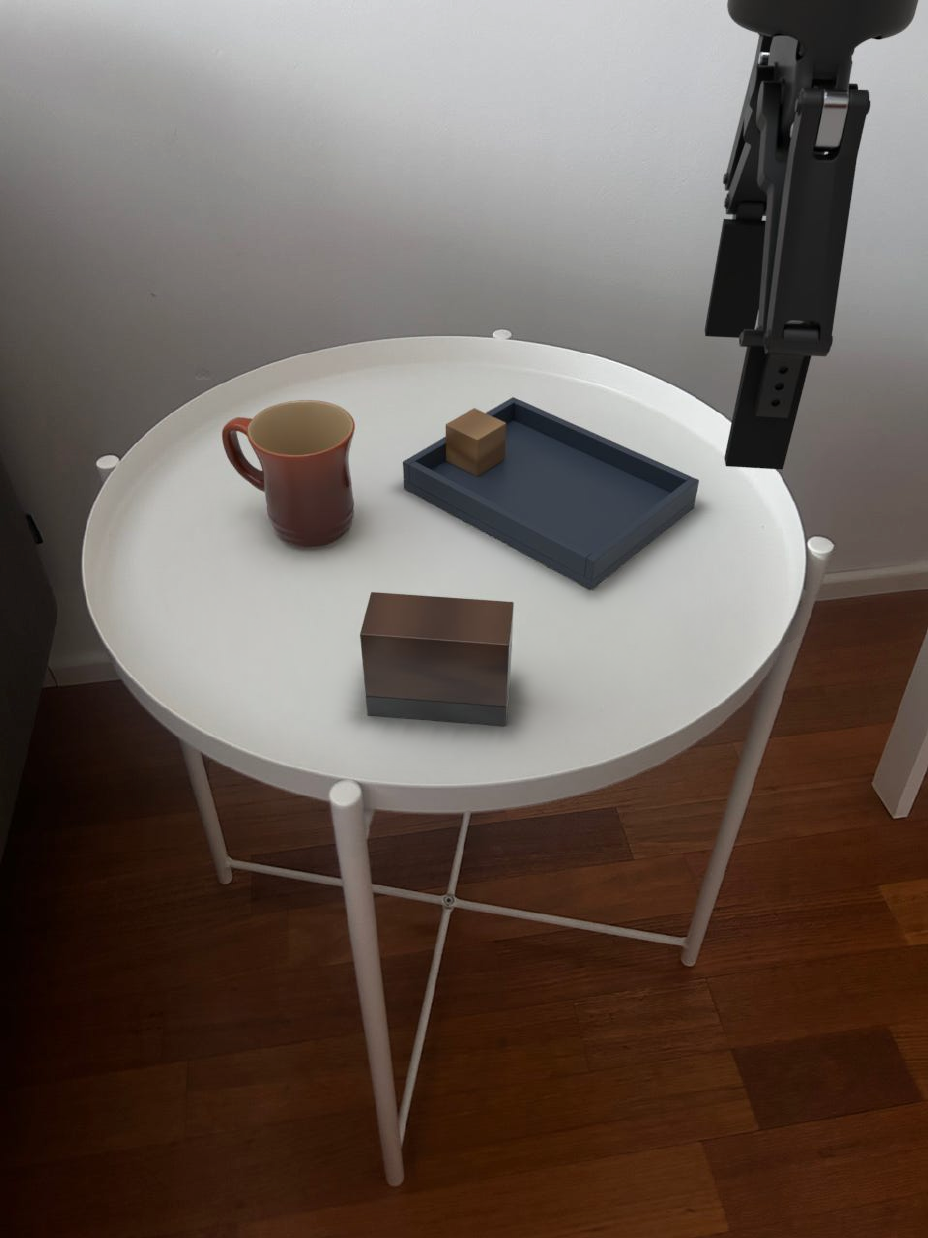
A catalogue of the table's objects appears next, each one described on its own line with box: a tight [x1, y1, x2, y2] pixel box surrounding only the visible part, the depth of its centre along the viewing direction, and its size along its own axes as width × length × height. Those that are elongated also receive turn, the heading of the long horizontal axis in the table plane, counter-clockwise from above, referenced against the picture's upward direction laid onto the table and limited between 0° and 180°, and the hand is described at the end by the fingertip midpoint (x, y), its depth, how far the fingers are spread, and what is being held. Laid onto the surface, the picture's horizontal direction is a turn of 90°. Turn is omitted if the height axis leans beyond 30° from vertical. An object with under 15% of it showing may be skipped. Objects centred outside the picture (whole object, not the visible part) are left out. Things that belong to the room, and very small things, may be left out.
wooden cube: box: [445, 407, 506, 477], centre depth 94 cm, size 4×4×4 cm
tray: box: [402, 396, 700, 591], centre depth 91 cm, size 22×16×3 cm
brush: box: [359, 591, 515, 727], centre depth 71 cm, size 10×4×8 cm, turn 84°
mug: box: [221, 399, 356, 549], centre depth 86 cm, size 12×9×10 cm
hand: (739, 393), depth 54 cm, fingers open, 13 cm apart
